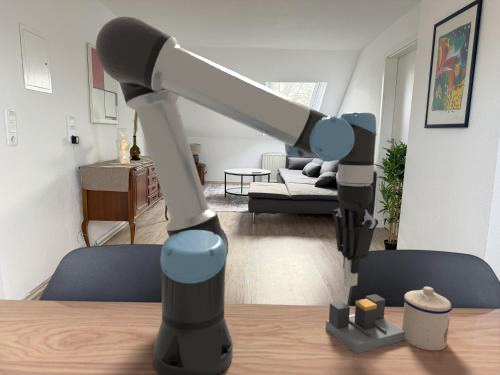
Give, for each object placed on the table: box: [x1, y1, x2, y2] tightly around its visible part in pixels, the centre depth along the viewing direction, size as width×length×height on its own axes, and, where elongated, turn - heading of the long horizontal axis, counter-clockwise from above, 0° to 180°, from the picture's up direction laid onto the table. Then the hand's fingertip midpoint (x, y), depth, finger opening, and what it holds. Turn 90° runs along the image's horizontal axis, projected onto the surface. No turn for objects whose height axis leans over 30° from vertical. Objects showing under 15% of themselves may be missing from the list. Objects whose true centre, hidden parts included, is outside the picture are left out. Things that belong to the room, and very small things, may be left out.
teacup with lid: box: [401, 286, 453, 352], centre depth 75 cm, size 12×9×12 cm
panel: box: [325, 293, 405, 355], centre depth 75 cm, size 13×10×6 cm
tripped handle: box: [354, 298, 377, 330], centre depth 75 cm, size 3×3×5 cm
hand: (350, 284), depth 80 cm, fingers closed
